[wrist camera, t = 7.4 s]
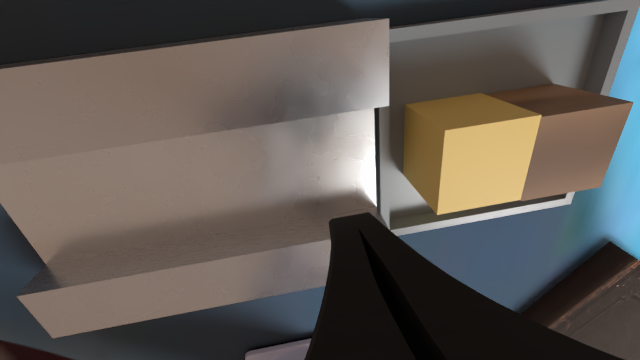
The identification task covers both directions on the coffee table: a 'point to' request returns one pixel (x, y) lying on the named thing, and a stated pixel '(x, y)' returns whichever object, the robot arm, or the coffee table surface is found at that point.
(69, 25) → the coffee table surface
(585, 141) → the walnut cube
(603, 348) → the hardcover book
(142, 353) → the coffee table surface
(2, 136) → the channel
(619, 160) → the coffee table surface
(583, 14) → the tray
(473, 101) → the mustard cube
